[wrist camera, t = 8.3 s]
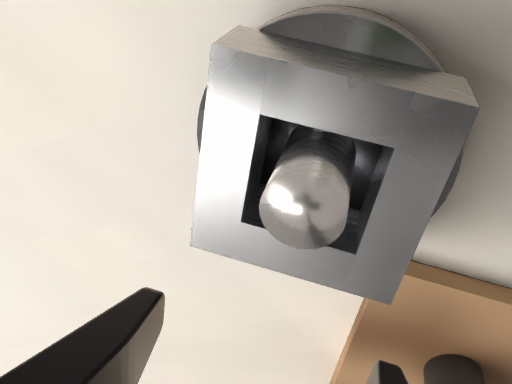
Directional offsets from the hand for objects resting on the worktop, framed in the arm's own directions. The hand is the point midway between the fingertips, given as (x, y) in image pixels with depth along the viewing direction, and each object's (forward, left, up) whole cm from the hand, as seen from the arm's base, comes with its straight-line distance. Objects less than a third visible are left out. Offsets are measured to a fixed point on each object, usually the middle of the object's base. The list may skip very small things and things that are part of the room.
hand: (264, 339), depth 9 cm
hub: (0, 0, -10) cm, 10 cm away
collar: (0, 0, -8) cm, 8 cm away
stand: (-9, -8, -10) cm, 16 cm away
